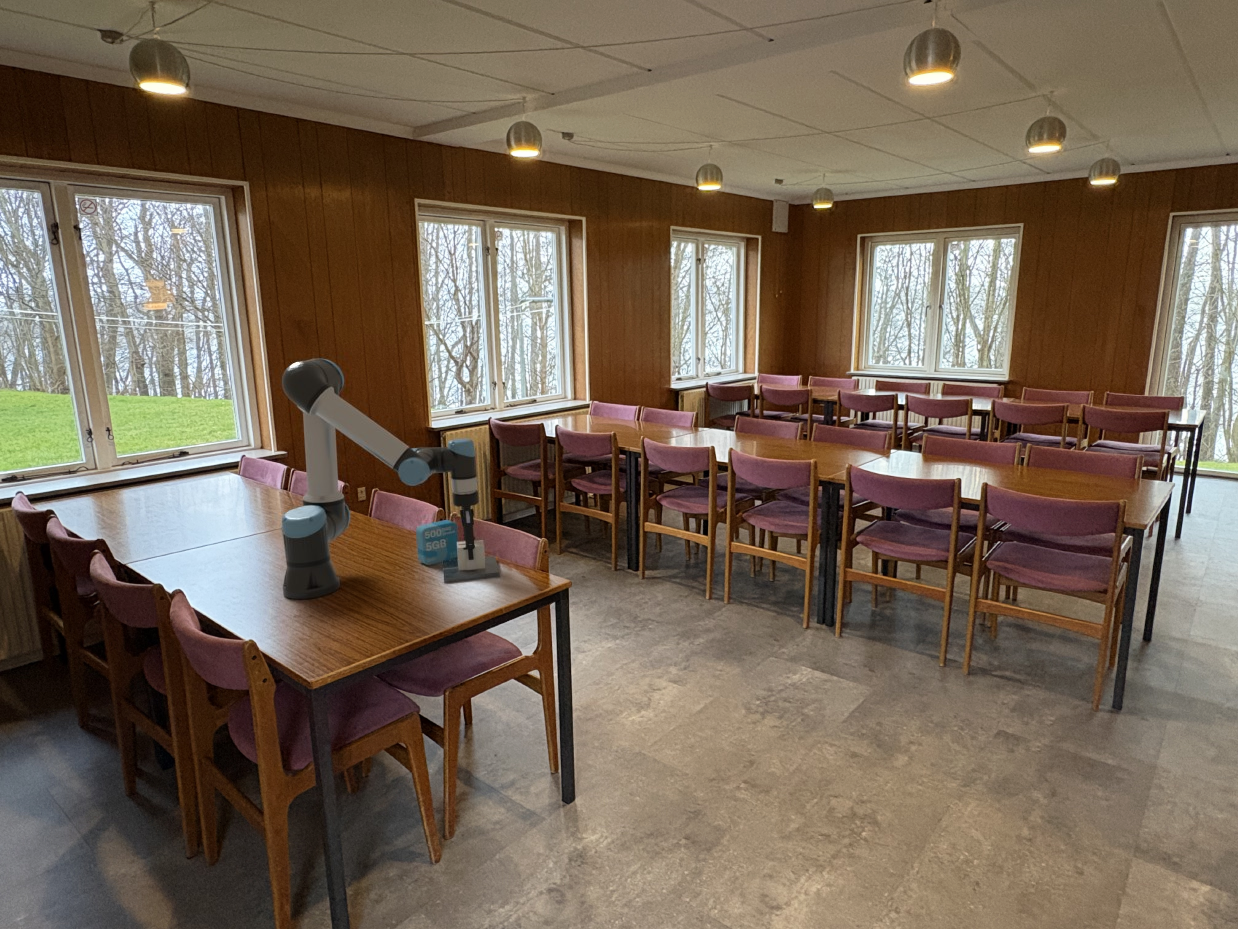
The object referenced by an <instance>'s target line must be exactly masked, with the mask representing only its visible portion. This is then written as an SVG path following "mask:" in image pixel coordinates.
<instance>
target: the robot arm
mask: <svg viewBox="0 0 1238 929" xmlns="http://www.w3.org/2000/svg"><path fill="white" fill-rule="evenodd" d="M344 384H345V377H344V373H343V371H342V369H341V368H340V366H338V365H337V364H336V363H335V362H333V361H331V360H330V359H327V358H325V359H324V358H312V359H308V360H300V361H296V362H294V363H292V364H290V365H289V366H288V367H287V368H286V369H285V370H284V372H283V374H282V377H281V386H282V390H283V392H284V394H285V395H286V397H287V398H288V399H289V400H290V401H291V402H292V403H294V405H296V407H297V408H298V409H299V410H300V411H301V412H302V416H303V418H302V420H303V432H304V434H303V435H304V437H303V438H304V452H305V465H306V466H305V468H306V470H305V471H306V484H307V492H306V493H305V494H304V495H303V497H302V506H299V507H296V508H293V509H292V508H291V509H290V510H288V511H287V512H285V513H284V514H283V516H282V517H281V532H282V538H283V539H282V540H283V546H284V554H285V563H286V571H285V575H284V579H283V583H282V592H283V596H284V597H285V598H288V599H293V600H308V599H309V600H310V599H314V598H320V597H324V596H327V595H329V594H331V593H334V592H336V591H337V590H339V588H340V586H341V584H340V577H339V576H338V574H337V571H336V570H335V567H334V565H333V563H332V560H331V552H330V543H331V542H332V541H334V540H335V539H336V538H338V537H340V536H341V535H342V534H344V532H345V531H346V529H347V528H348V527H349V525H350V522H351V511H350V508H349V506H348V504H346V502H345V495H344V494H343V493H342V491H340V490H339V477H338V476H339V475H338V474H339V473H338V459H337V458H338V455H337V453H338V452H337V437H336V434H337V432H336V430H337V431H339V432H341V434H342V435H344V436H346V437H347V438H349V439H350V440H351V441H353V442H354V443H356V444H357V445H359V446H360V447H362V449H364V450H365V451H367V452H369V453H370V454H371V455H373V456H374V457H375V458H377V459H379V461H381V462H383V463H384V464H385V465H387V466H388V467H389V468H391V469H392V470H394V471H396V472H397V473H398V478H399V479H400V480H401V482H402V483H404V484H405V485H407V486H414V487H415V486H418V485H420V484H423V483H424V482H426V481H427V480H428V478H429V477H431V476H432V475H433V474H439V473H440V474H441V473H445V474H446V473H450V481H451V482H450V483H451V491H452V492H453V493H452V504H453V506H455V507H459V508H460V509H459V514H460V519H461V520H460V521H461V526H462V528H463V529H462V530H463V541H465V543H466V547H465V548H463V550H466V563H467V570H474V569H476V557H475V545H474V541H475V540H476V536H475V535H474V524H475V522H474V516H475V511H474V508H471V507H472V506H476V505H478V504H479V501H480V500H479V498H480V497H479V491H478V483H480V479H479V478H478V474H477V458H476V456H477V455H476V449H475V444H474V441H473V440H472V439H471V438H455V439H451V440H449V441H448V443H447V444H448V445H447V446H442V447H422V446H421V447H416V448H415V447H413V448H411V447H410V446H409V445H407V444H406V443H404V442H403V441H401V440H400V439H399V438H398V437H396V436H395V435H394V434H392V433H391V432H389V431H388V430H387V429H385V428H384V427H382V426H381V425H379V424H378V423H377V422H375V421H374V420H372V419H371V418H370V417H368V416H367V415H366V414H364V413H363V412H361V411H360V410H359V409H357V408H356V407H354V406H353V405H352V404H350V403H349V402H347V401H346V400H345V399H343V398H342V397H341V396H340V393H341V391H342V390H343V389H344V388H343V387H344ZM471 544H472V545H471Z"/></svg>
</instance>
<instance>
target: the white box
mask: <svg viewBox="0 0 1238 929" xmlns="http://www.w3.org/2000/svg"><path fill="white" fill-rule="evenodd" d="M471 545H472V544H471ZM474 545H475V557H476V569H482V568H485V557H486V555H485V554H486V551H485V543H484V540H483V539H480V540H479V539H477V540H476V539H475V540H474ZM465 547H466V543H465V540H463V541H458V542H457V556H458V557H457V559H458V568H459V571H460V570H467V563H466V550H463V548H465Z"/></svg>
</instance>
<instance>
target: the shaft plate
mask: <svg viewBox="0 0 1238 929" xmlns="http://www.w3.org/2000/svg"><path fill="white" fill-rule="evenodd" d="M497 562H498V561H497V559H496V556H495V555H490V556H489V555H488V556H485V568H482V569H474V570H460V571H459V568H458V558H456V559H452V560H448V561H443V562H442V571H443V572H442V573H443V583H444V584H449V583H456V582H458V583H459V582H465V581H474V580H475V581H476V580H485V579H492V578H493V579H494V578H501V577H500V570H499V566H498V563H497Z"/></svg>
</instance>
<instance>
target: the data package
mask: <svg viewBox="0 0 1238 929" xmlns="http://www.w3.org/2000/svg"><path fill="white" fill-rule="evenodd" d="M415 536H416V548H417V559H418V561H419V563H420V562H421V563H422V564H424V565H426V566H433V565H435V564H440V563H443V561H448V560H456V559H458V556H457V542H459V537H458V525H457V523H456V522H453V521H451V520H449V519H445V520H444V519H443V520H439V521H435V522H430V523H426V524H425V523H424V524H421V525H418V527H416V529H415Z"/></svg>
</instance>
